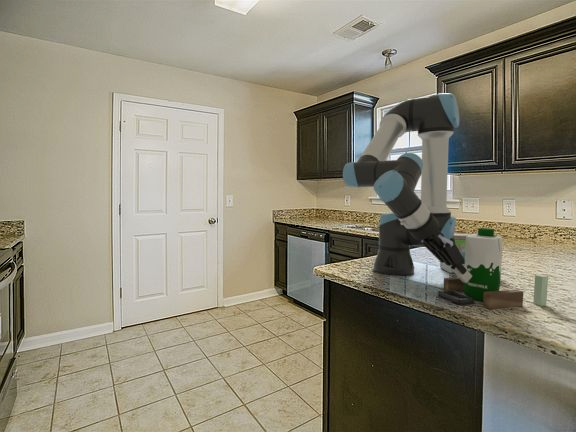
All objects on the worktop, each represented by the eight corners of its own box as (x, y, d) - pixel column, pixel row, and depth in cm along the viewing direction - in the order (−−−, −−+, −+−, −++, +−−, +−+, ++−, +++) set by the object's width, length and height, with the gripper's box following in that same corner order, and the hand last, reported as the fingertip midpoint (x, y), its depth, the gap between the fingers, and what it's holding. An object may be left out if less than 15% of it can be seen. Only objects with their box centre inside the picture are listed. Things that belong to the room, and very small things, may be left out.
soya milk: (502, 297, 95) (505, 229, 94) (494, 305, 89) (498, 231, 88) (468, 291, 102) (471, 227, 100) (459, 297, 95) (462, 229, 94)
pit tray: (438, 296, 96) (438, 291, 96) (452, 295, 98) (452, 290, 97) (458, 305, 89) (459, 299, 88) (474, 303, 90) (474, 298, 90)
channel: (443, 290, 102) (443, 278, 102) (472, 288, 105) (473, 276, 105) (489, 309, 86) (490, 294, 85) (522, 306, 88) (523, 291, 88)
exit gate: (482, 286, 107) (483, 262, 107) (487, 286, 108) (488, 262, 107) (540, 305, 89) (542, 276, 88) (546, 305, 89) (548, 276, 89)
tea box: (449, 273, 125) (451, 235, 124) (439, 267, 135) (440, 232, 134) (490, 274, 124) (492, 235, 123) (477, 268, 134) (479, 232, 133)
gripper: (395, 228, 94) (442, 282, 99) (425, 233, 81) (477, 295, 86) (412, 209, 95) (458, 264, 100) (444, 211, 82) (495, 274, 87)
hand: (467, 279), depth 93 cm, fingers closed
